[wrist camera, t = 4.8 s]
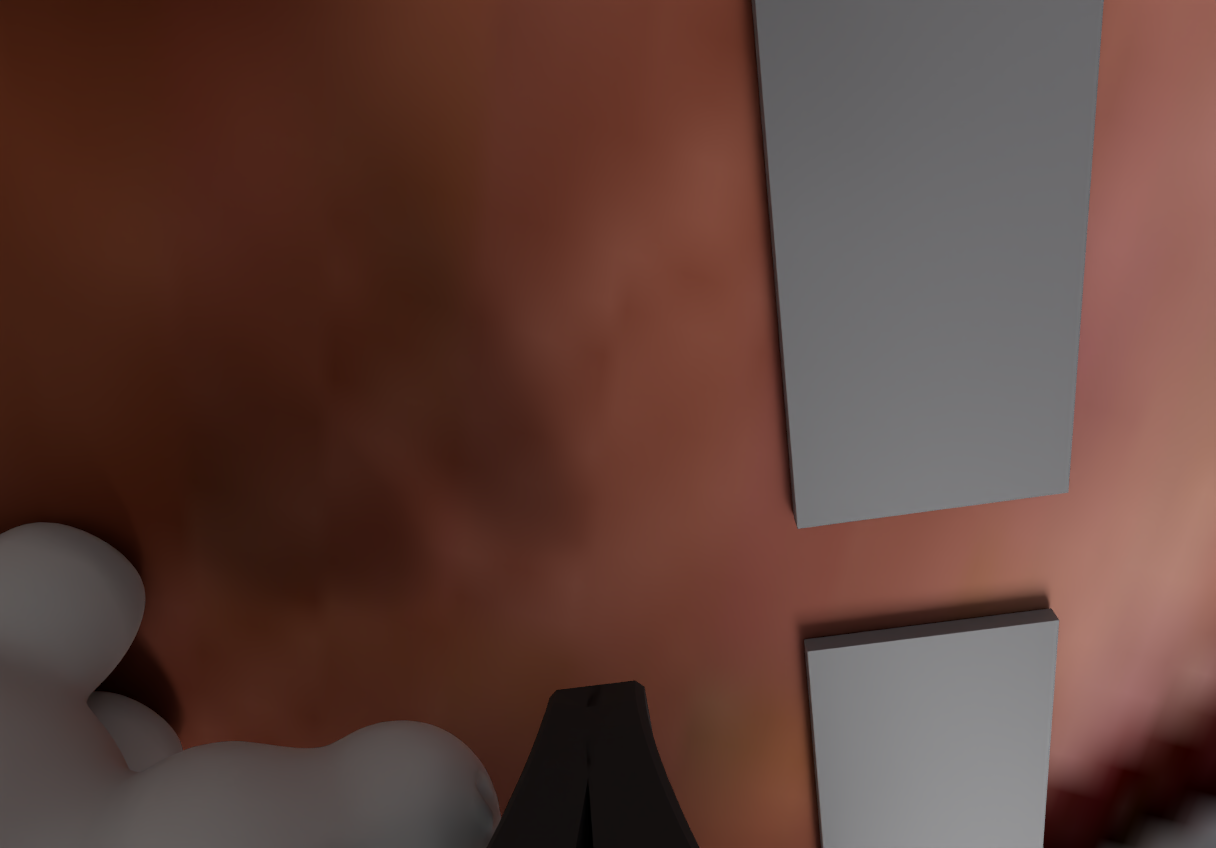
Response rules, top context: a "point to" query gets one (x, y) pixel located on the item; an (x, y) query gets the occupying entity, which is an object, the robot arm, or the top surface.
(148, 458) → the top surface
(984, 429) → the rectangular frame
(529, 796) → the robot arm
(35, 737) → the chubby cartoon animal
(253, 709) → the top surface
